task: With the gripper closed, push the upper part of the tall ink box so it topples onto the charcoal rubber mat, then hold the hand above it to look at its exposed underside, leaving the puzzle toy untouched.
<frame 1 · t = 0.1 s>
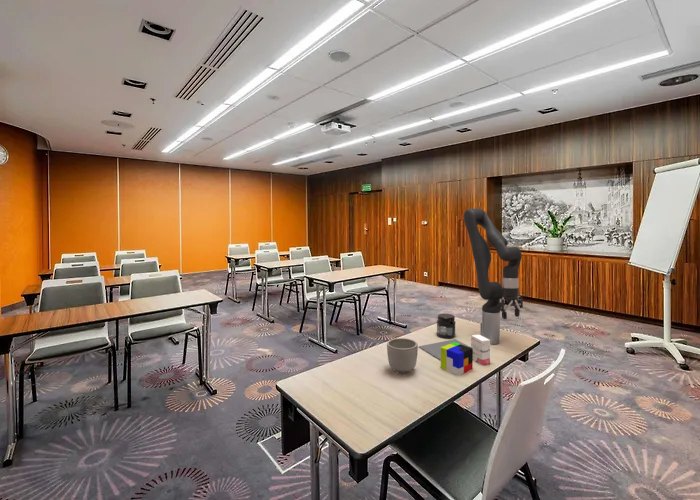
hand: (510, 317, 175), 17 cm above the table, tool pointing down, fingers open, 8 cm apart
planter: (402, 371, 157), on the table
puzzle toy: (456, 369, 158), on the table
supplement container: (446, 336, 200), on the table
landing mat: (449, 350, 178), on the table
ink box: (480, 361, 165), on the table
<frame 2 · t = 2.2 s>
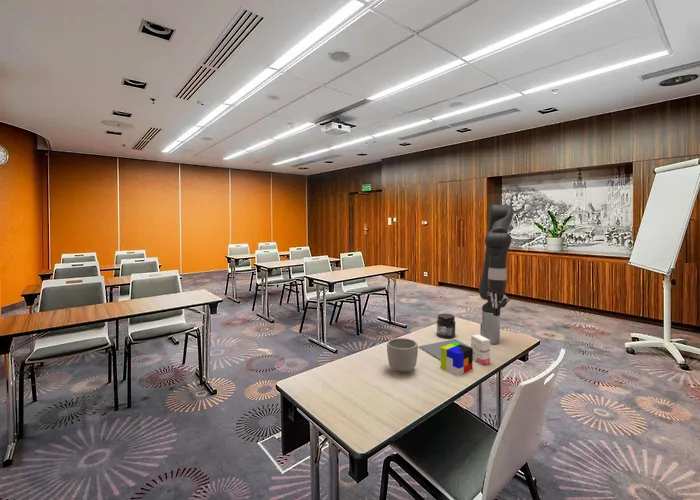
hand: (496, 315, 154), 25 cm above the table, tool pointing down, fingers closed
nothing on the table moved.
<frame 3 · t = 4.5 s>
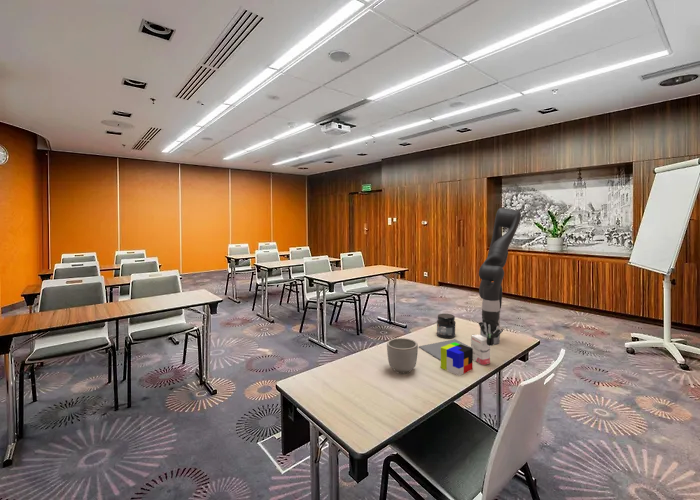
hand: (490, 345, 158), 10 cm above the table, tool pointing down, fingers closed
ink box: (480, 361, 165), on the table, touching gripper
everything else where it was.
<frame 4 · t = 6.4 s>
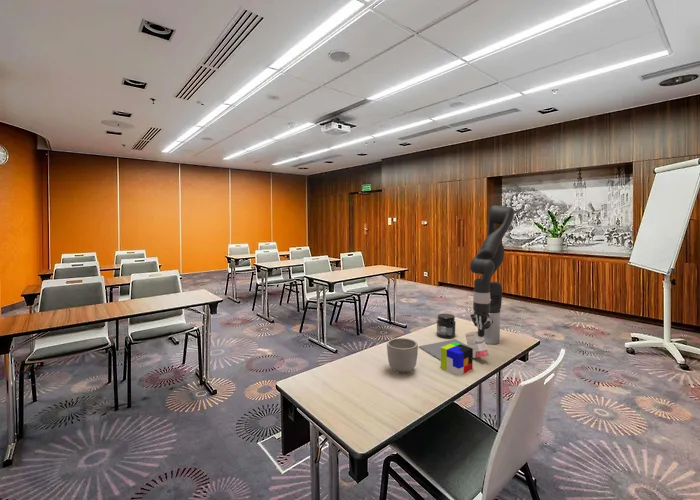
hand: (481, 336, 163), 12 cm above the table, tool pointing down, fingers closed
ink box: (479, 357, 165), point 2 cm above the table, touching gripper
everything else where it was.
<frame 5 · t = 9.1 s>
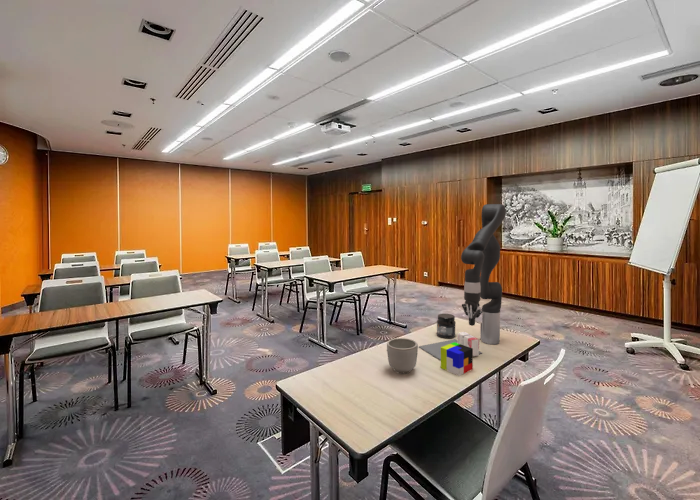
hand: (471, 325, 169), 16 cm above the table, tool pointing down, fingers closed
ink box: (475, 348, 168), point 5 cm above the table, touching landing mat
everything else where it was.
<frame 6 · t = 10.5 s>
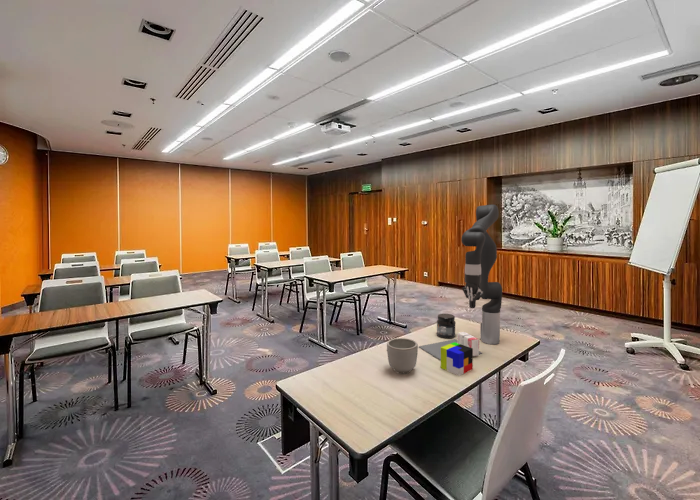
hand: (472, 307, 168), 25 cm above the table, tool pointing down, fingers closed
nothing on the table moved.
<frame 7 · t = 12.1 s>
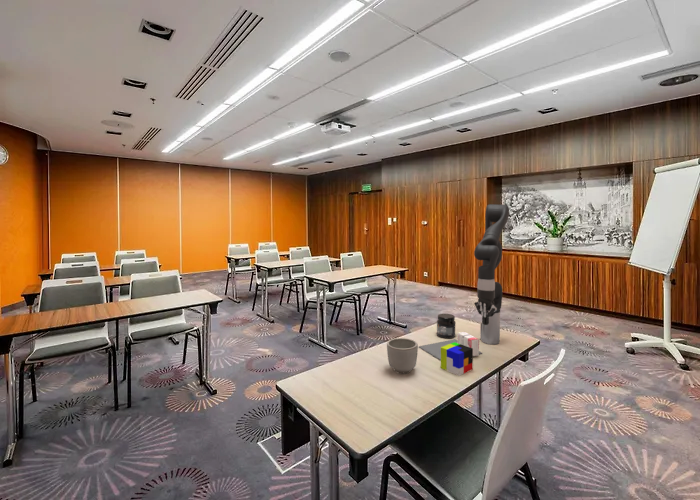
hand: (485, 324, 160), 19 cm above the table, tool pointing down, fingers closed
nothing on the table moved.
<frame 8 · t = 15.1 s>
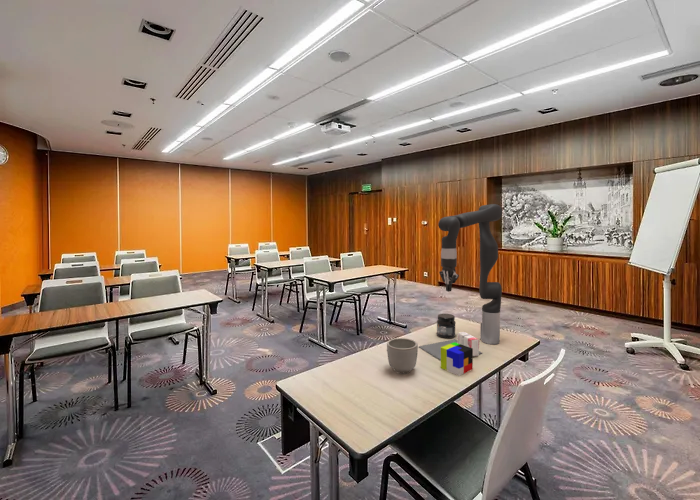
hand: (448, 291, 173), 32 cm above the table, tool pointing down, fingers closed
nothing on the table moved.
at the end: ink box tilted 90°; ink box touching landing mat; puzzle toy moved 0.3 cm from its start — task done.
